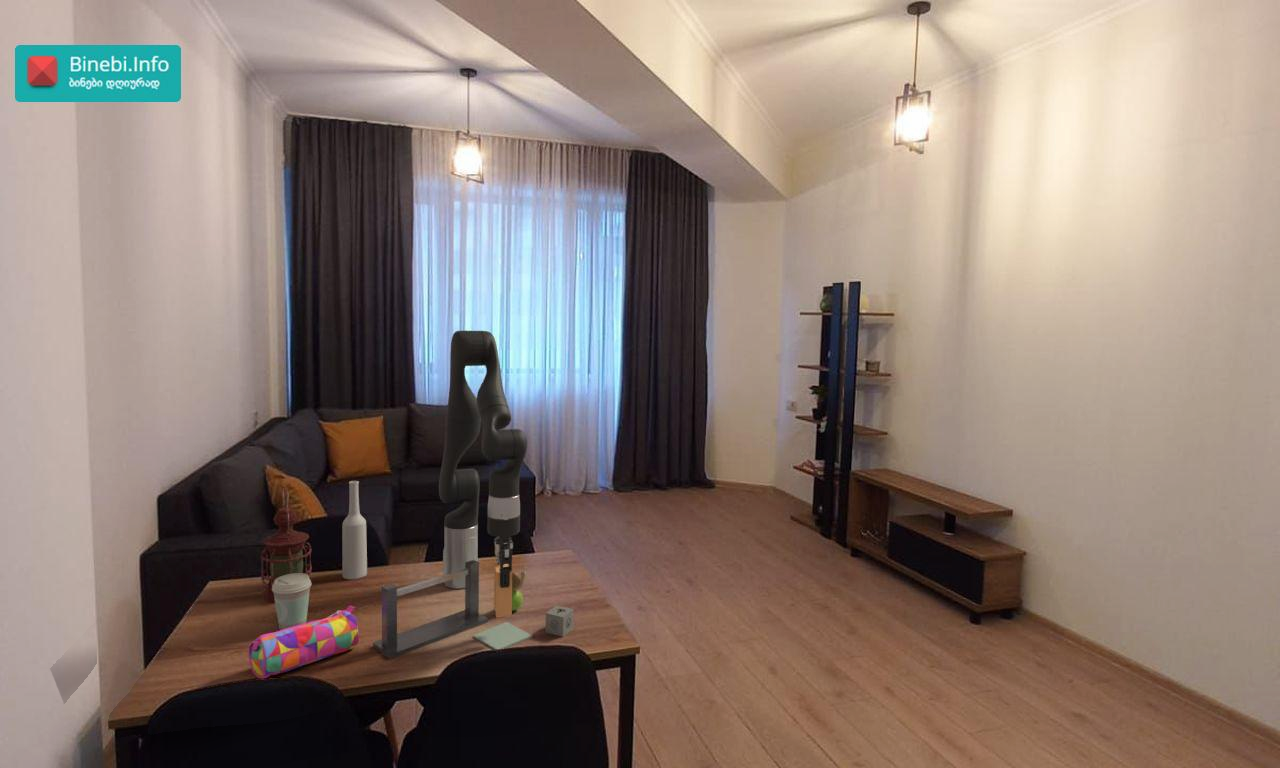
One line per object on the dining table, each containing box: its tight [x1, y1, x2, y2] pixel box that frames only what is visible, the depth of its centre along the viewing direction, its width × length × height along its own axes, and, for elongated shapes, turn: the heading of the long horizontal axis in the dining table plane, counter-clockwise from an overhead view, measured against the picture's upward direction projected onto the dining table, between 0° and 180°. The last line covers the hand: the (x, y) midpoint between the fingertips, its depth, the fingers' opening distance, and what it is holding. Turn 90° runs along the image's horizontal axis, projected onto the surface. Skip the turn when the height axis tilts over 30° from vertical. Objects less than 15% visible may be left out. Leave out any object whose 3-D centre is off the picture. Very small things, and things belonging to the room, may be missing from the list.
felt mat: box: [472, 621, 533, 651], centre depth 159 cm, size 10×10×1 cm
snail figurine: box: [512, 566, 527, 612], centre depth 173 cm, size 5×6×12 cm
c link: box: [493, 563, 513, 618], centre depth 157 cm, size 5×4×11 cm, turn 18°
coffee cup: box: [272, 572, 312, 631], centre depth 160 cm, size 9×9×12 cm
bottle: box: [341, 480, 368, 580], centre depth 192 cm, size 7×7×28 cm
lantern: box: [260, 484, 313, 603], centre depth 177 cm, size 12×12×30 cm
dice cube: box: [545, 605, 575, 638], centre depth 163 cm, size 5×5×5 cm
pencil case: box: [248, 605, 360, 679], centre depth 145 cm, size 22×9×9 cm, turn 142°
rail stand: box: [372, 560, 489, 660], centre depth 158 cm, size 8×26×15 cm, turn 138°
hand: (503, 581), depth 157 cm, fingers closed on c link, 5 cm apart
